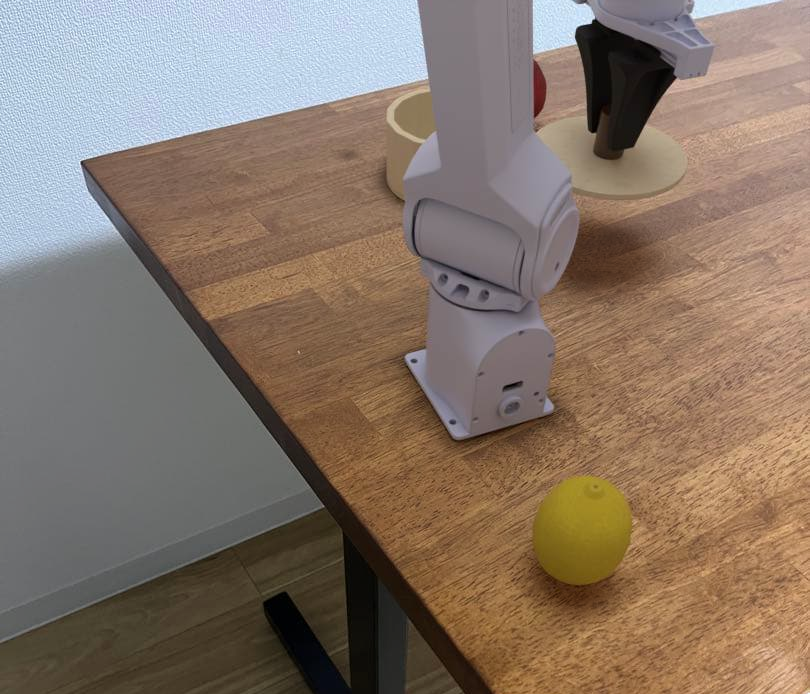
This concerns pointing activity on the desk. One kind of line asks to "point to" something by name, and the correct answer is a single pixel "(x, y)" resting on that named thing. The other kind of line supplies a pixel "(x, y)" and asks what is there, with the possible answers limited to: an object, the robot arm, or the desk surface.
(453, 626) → the desk surface
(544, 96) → the onion
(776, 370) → the desk surface
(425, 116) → the pot
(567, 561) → the lemon
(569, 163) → the lid
